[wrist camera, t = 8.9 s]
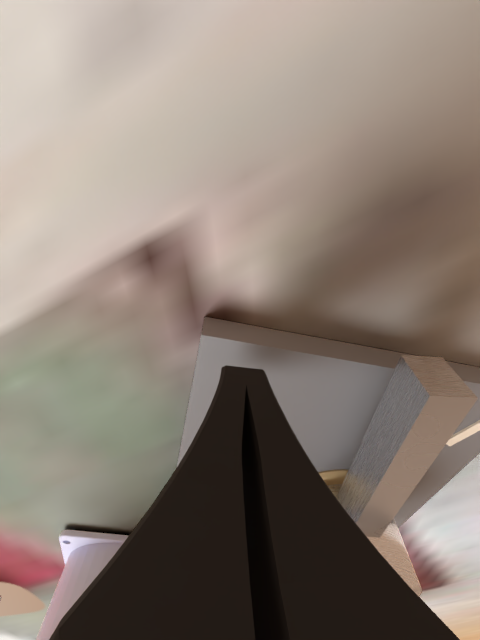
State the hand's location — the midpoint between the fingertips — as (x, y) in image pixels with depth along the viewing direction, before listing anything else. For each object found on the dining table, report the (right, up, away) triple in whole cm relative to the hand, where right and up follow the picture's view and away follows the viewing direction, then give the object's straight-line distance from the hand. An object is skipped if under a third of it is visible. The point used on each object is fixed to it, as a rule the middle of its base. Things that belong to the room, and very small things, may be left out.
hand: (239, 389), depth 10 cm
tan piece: (+6, -5, +4) cm, 8 cm away
